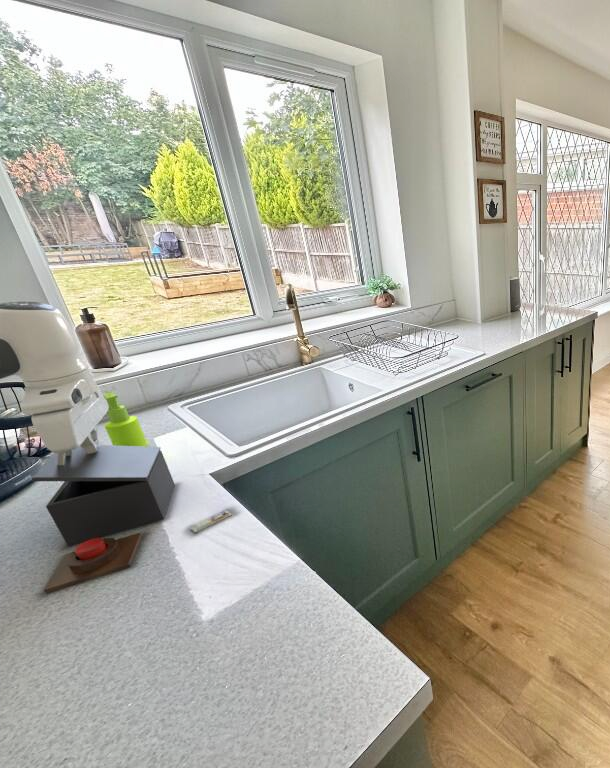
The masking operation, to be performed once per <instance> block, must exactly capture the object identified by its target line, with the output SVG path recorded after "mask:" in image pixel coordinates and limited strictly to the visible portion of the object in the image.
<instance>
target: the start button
mask: <svg viewBox="0 0 610 768" xmlns="http://www.w3.org/2000/svg"><path fill="white" fill-rule="evenodd" d="M104 550H106V545H105V543H104V541H103V537H101V538H94V539H90V540H88V541H85V542H83V543H80V544H78V545H77V546H76V547H75V549H74V552H76V554H77V556H78V558H79V559H80V560H86V559H90V558H93V557H95V556H97V555H99V554H101V553H102V552H103V551H104Z"/></svg>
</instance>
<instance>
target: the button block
mask: <svg viewBox="0 0 610 768" xmlns="http://www.w3.org/2000/svg"><path fill="white" fill-rule="evenodd" d="M102 539H103V541H104V543H105V545H106V550H104V551H103V552H102V553H101V554H99V555H97V556H95V557H93V558H90V559H86V560H80V559H79V558H78V556H77V554H76V552H75V551H73V552H69V553H65V554H64V555H63V557H62V558H61V560H60V562H59V563H58V565H57V567H56V569H55V570H54V571H53V574H52V575H51V577H50V578H49V580H48V582H47V584H46V585H45V587H44V589H43V591H44V593H45V595H47V594H51V593H54V592H57V591H59V590H60V591H61V590H63V589H66V588H68V587H72V586H75V585H79V584H81V583H84V582H88V581H92V580H94V579H97V578H101V577H104V576H107V575H110V574H113V573H116V572H119V571H123V570H126V569H130V568H131V567H132V566H133V563H134V560H135V558H136V555H137V552H138V549H139V548H140V547H139V546H140V544H141V541H142V539H143V533H142V532H138V533H134V534H131V535H128V536H124V537H120V538H118V539H115V538H114V537H102Z"/></svg>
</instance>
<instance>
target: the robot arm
mask: <svg viewBox="0 0 610 768" xmlns="http://www.w3.org/2000/svg"><path fill="white" fill-rule="evenodd" d="M80 349H81V348H80V343H79V341H78V339H77V337H76V335H75V333H74V331H73V329H72V327H71V326H70V323H69V322H68V321H67V318H65V316H64V314H63V313H62V312H61V311H60V310H59V309H58V308H57V307H56V306H53V305H51V304H48V303H43V302H38V301H9V302H1V303H0V380H2V379H5V378H8V377H12V376H16V377H19V378H20V379H21V381H22V382H23V385H24V386H25V388H24V395H23V397H22V400H21V403H20V410H21V411H22V413H23V414H24V415H25V416H31V423H32V425H33V428H34V429H35V431H36V433H37V435H38V437H39V438H40V439H41V441H42V443H43V444H44V446H45V447H46V448H47V450H49V452H52V453H53V454H54V453H59V452H64V451H68V450H73V449H77V448H78V447H79V446H81V447H82V449H83V451H84V453H86V454H91V453H95V452H96V451H97V450H98V448H99V447H100V446H101V445H102V443H101V440H100V439H99V431H98V426H97V425H98V424H99V423H100V422H101V420H102V419H103V418H104V417H105V416H106V414H107V411H108V408H109V405H108V403H107V400H106V399H105V398H104V396H103V394H104V393H103V392H102V390H101V388H100V387H99V386H98V384H97V381H96V379H95V377H94V375H93V372H92V370H91V368H90V365H89V364H88V362H86V360H84V358H83V356H82V355H81V351H80Z"/></svg>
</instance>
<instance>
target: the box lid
mask: <svg viewBox="0 0 610 768" xmlns="http://www.w3.org/2000/svg"><path fill="white" fill-rule="evenodd" d="M160 451H161V446H149V447H145V446H113V444H112V445H111V444H109V445H107V444H101V446H100V447H99V448H98V450H97V451H96V452H95V453H91V454H86V453H84V451H83V449H82V447H81V446H79V447H78V448H77V449H73V450H68V451H64V452H59V453H54V452H53V454H52V455H50V457H49V458H48V459H47V460H46V461H45V463H44V464H43V465H42V466H41V467H40V468H39V469H38V470H37V471H36V473H34V475H33V476H32V477H31V482H65V481H147V479H148V477H149V474H150V472H151V470H152V468H153V465H154V463H155V461H156V458H157V456H158V454H159V452H160Z"/></svg>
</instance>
